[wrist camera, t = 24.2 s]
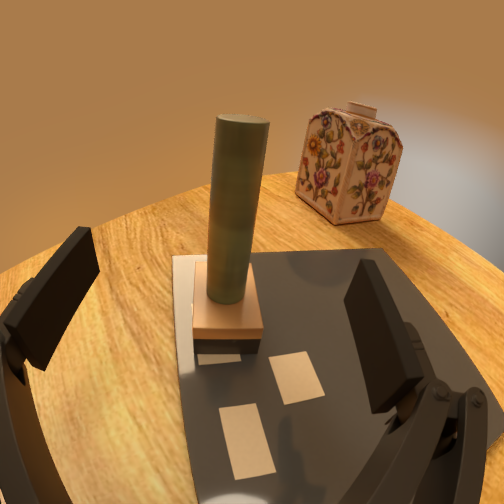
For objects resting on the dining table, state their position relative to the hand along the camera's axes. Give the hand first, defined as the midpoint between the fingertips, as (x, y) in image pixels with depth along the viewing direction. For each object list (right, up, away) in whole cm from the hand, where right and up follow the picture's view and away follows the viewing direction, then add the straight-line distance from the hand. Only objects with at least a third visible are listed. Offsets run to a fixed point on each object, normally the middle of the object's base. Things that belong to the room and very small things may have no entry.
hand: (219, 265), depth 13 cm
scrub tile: (+9, -8, +8) cm, 15 cm away
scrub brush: (-1, -5, +9) cm, 10 cm away
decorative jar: (+16, +8, +34) cm, 38 cm away
